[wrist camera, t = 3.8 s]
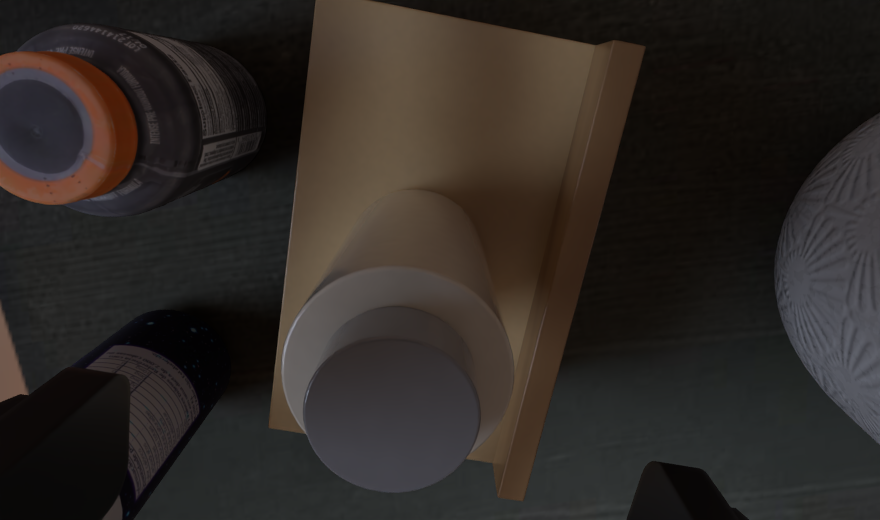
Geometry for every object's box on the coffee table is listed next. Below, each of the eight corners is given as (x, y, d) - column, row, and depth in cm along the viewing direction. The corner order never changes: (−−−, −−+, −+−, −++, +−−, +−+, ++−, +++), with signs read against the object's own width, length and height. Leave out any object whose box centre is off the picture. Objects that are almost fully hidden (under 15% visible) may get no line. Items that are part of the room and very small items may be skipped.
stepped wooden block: (307, 350, 29) (251, 460, 20) (349, 17, 24) (301, -24, 16) (499, 381, 29) (523, 502, 21) (574, 61, 25) (646, 46, 16)
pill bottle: (139, 172, 26) (-71, 228, 15) (134, 36, 25) (-106, -8, 14) (268, 186, 26) (151, 251, 16) (272, 52, 25) (142, 21, 14)
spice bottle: (339, 306, 21) (245, 508, 11) (357, 177, 19) (270, 270, 9) (468, 328, 21) (494, 545, 11) (494, 202, 20) (554, 318, 10)
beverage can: (116, 303, 28) (-106, 449, 17) (230, 302, 28) (87, 448, 17) (134, 404, 30) (-57, 601, 18) (242, 403, 30) (119, 600, 18)
